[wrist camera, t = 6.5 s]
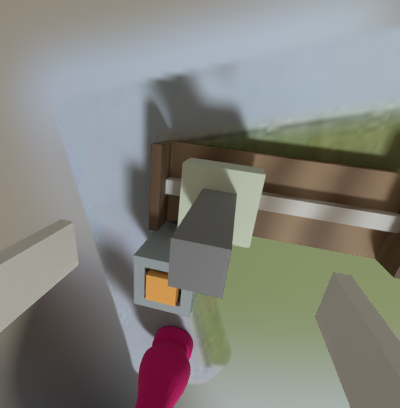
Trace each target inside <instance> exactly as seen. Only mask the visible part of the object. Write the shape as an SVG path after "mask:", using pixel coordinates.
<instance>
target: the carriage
mask: <svg viewBox="0 0 400 408" xmlns="http://www.w3.org/2000/svg"><path fill="white" fill-rule="evenodd" d="M265 176H266V174H265V172H264V169H263V168H259V167H253V166H246V165H239V164H232V163H225V162H218V161H211V160H204V159H197V158H189V159H188V160H186V161H184V162H183V166H182V178H181V190H180V203H179V215H178V227H177V229H176V231H175V232H174V234H173V235H172V237H171V243H170V257H169V272H168V286H170V287H174V288H179V289H183V290H187V291H192V292H196V293H200V294H204V295H209V296H213V297H217V298H222V297H223V292H224V287H225V282H226V277H227V271H228V266H229V261H230V256H231V251H232V245H236V246H241V247H247V248H249V247H250V242H251V238H252V234H253V229H254V225H255V221H256V216H257V212H258V207H259V203H260V199H261V194H262V190H263V185H264V181H265Z"/></svg>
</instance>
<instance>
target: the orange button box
mask: <svg viewBox="0 0 400 408" xmlns="http://www.w3.org/2000/svg"><path fill="white" fill-rule="evenodd" d="M177 227H178V223H173V222H167V221H166V222H165V223H164V224H163V226H162V227H161V228H160V229H159V230H158V231H154V232H153V233H152V234H151V236H150V237H149V238H148V239H147V240H146V241H145V243H144V244H143V245H142V246H141V247H140V249H139V250H138V251H137V252H136V253H135V255H134V304H138V305H142V306H146V307H150V308H154V309H158V310H162V311H166V312H170V313H174V314H178V315H182V316H186V317H190V314H191V310H192V307H193V303H194V300H195V296H196V292H192V291H187V290H183V289H181V291H180V294H179V297H178V299H177V302H176V304H175V306H171V305H167V304H163V303H159V302H155V301H150V300H146V275H147V273H148V271H149V270H150V269H154V270H159V271H163V272H169V257H170V243H171V237H172V235H173V234H174V232H175V231H176V229H177Z"/></svg>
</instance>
